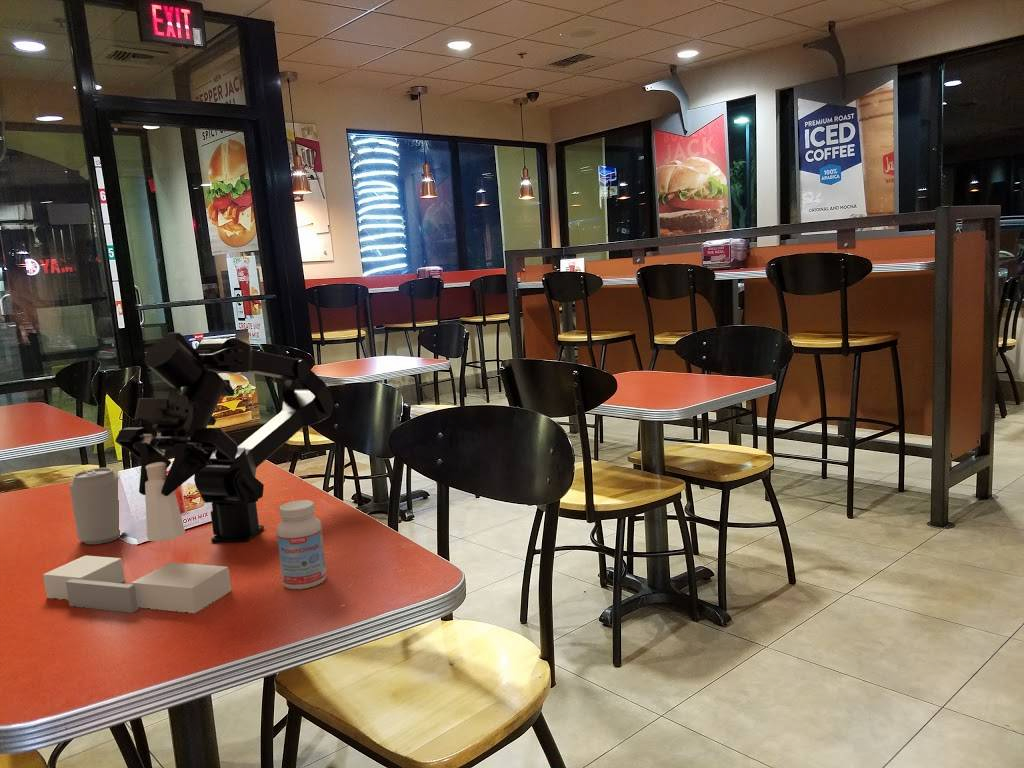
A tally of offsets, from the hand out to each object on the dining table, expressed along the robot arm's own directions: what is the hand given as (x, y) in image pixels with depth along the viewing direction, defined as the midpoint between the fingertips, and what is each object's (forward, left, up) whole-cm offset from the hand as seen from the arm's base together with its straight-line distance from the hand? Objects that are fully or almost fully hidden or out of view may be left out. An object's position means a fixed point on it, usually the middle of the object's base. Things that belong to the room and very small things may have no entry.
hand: (152, 494), depth 111 cm
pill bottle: (-23, +3, -13) cm, 27 cm away
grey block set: (0, +7, -12) cm, 15 cm away
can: (+22, -16, -13) cm, 30 cm away
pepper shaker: (0, -1, -7) cm, 7 cm away
